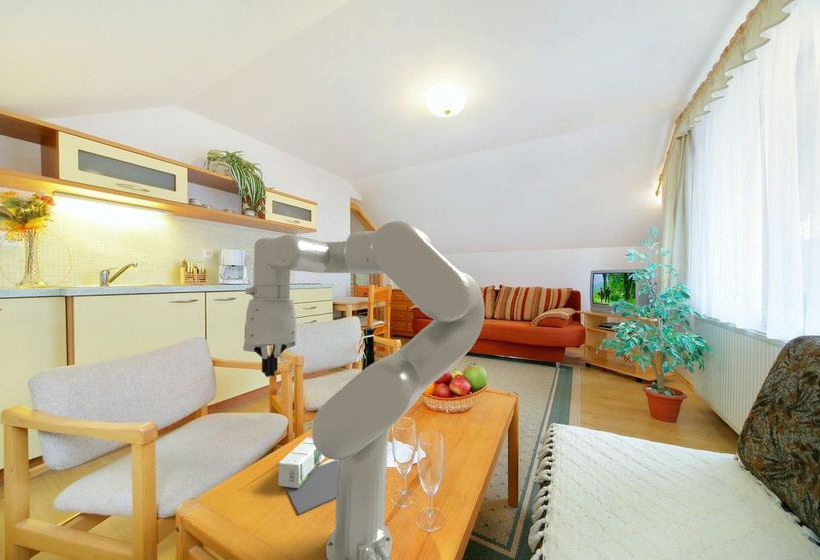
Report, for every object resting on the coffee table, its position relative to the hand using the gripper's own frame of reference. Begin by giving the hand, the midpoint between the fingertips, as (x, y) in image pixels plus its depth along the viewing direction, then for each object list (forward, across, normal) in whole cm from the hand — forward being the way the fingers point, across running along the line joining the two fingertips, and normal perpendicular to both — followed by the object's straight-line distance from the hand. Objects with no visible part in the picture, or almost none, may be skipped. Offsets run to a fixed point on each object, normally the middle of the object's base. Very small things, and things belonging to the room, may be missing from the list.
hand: (269, 374), depth 66 cm
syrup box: (+27, +6, +5) cm, 28 cm away
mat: (+30, +13, +3) cm, 33 cm away
